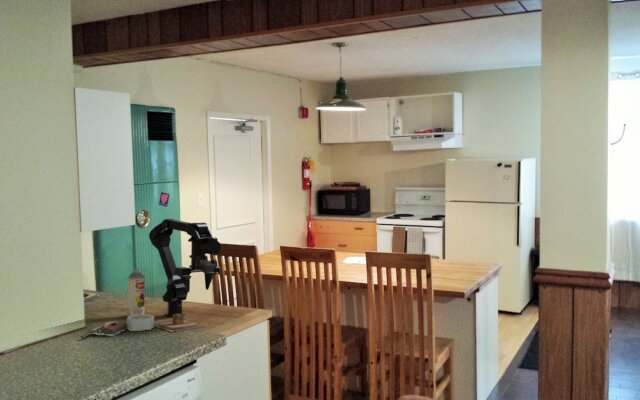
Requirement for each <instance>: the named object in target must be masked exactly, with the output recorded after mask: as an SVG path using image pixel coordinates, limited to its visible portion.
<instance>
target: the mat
mask: <svg viewBox="0 0 640 400" xmlns="http://www.w3.org/2000/svg"><path fill="white" fill-rule="evenodd" d="M156 327H157V328H156ZM154 328H156V329H159V328H162V329H166V328H163V327H160V326H158V324H157V325H154ZM200 328H201V329H202V328H203V327H202V326H201V325H198V327H192V328H187V329H181V330H176V331H180V332H185V331H191V330H195V329H200ZM162 329H161V330H162ZM167 330H169V329H167Z"/></svg>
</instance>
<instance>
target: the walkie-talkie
mask: <svg viewBox="0 0 640 400" xmlns="http://www.w3.org/2000/svg"><path fill="white" fill-rule="evenodd" d="M126 328H127V321H126V322H125V321H119V320H113V321H107V322H105V323H104V324H103V326H98V327H95V328H93V329H92V328H91V330H90V332H89V333H86V334H83V335H81V336H80V339H82V338H83V339H85V338H84V337H86V336H88V335H90V334H92V333H95V332H97V333H104V334H115V333H117V332H119V331H121V330H124V329H126ZM90 336H91V335H90ZM88 337H89V336H88ZM86 338H87V337H86Z"/></svg>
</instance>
